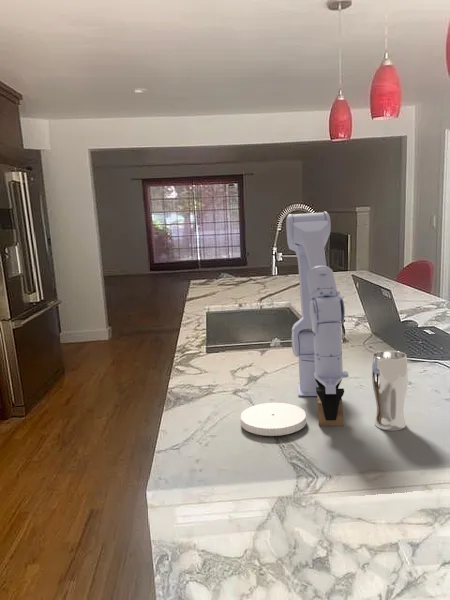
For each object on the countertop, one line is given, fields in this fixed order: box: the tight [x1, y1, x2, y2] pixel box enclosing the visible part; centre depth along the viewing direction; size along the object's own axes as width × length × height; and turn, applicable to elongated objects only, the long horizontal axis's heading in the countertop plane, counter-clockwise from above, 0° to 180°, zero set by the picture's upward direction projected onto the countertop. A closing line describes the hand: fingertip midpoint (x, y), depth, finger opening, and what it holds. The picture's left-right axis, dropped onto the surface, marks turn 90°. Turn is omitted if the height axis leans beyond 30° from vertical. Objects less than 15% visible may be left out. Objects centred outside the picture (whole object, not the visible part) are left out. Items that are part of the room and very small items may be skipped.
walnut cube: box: [316, 395, 344, 427], centre depth 106 cm, size 5×5×5 cm
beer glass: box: [371, 349, 409, 432], centre depth 101 cm, size 7×7×15 cm
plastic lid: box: [239, 402, 307, 437], centre depth 107 cm, size 14×14×2 cm
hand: (330, 414), depth 106 cm, fingers closed on walnut cube, 5 cm apart
